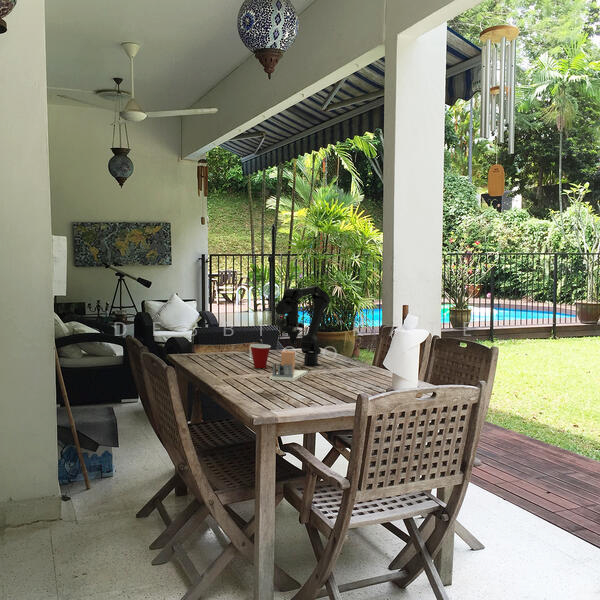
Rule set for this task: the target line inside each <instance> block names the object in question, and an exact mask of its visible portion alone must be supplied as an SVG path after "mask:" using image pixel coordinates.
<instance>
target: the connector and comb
mask: <svg viewBox="0 0 600 600" xmlns="http://www.w3.org/2000/svg"><path fill="white" fill-rule="evenodd" d="M283 369H284V373H283V374H281V373H280V371H281V370H283ZM276 373H278V374H276ZM271 375H272V376H274V377H290V378H292V377H293V375H292V364H289V365H287V364H284V365H282V366H281V363H276V362H274V363H272V374H271Z"/></svg>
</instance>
